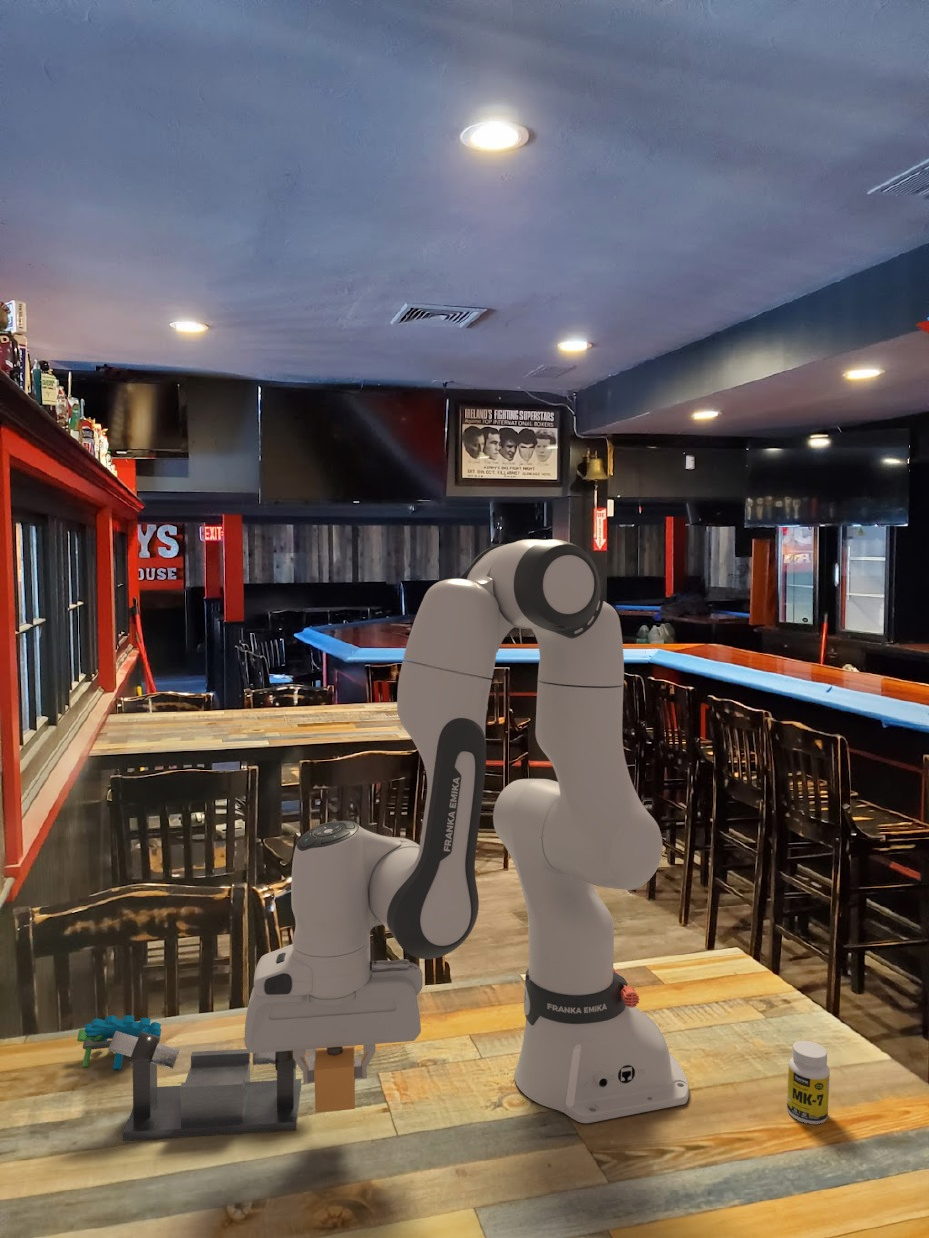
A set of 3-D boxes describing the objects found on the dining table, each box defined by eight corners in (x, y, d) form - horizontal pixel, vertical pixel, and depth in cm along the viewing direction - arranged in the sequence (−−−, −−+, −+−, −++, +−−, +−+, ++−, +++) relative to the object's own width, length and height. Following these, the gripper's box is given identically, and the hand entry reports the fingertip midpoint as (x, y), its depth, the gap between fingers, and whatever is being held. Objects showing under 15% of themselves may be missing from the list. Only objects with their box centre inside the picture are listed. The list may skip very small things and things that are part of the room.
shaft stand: (320, 1085, 116) (320, 1004, 115) (317, 1128, 107) (317, 1041, 106) (119, 1096, 113) (118, 1013, 112) (99, 1141, 104) (97, 1052, 103)
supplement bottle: (786, 1120, 110) (788, 1054, 109) (786, 1099, 114) (788, 1035, 113) (828, 1129, 108) (831, 1062, 107) (827, 1107, 112) (829, 1042, 112)
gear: (173, 1029, 126) (146, 1006, 119) (167, 1075, 122) (138, 1054, 115) (97, 1038, 127) (66, 1015, 119) (88, 1083, 123) (55, 1063, 115)
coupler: (318, 1076, 107) (317, 1029, 107) (355, 1073, 108) (353, 1027, 107) (315, 1112, 100) (313, 1063, 100) (354, 1108, 101) (353, 1059, 101)
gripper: (420, 946, 107) (422, 1056, 108) (247, 957, 105) (251, 1069, 106) (423, 970, 101) (426, 1087, 102) (239, 983, 99) (244, 1102, 100)
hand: (335, 1078), depth 104 cm, fingers closed on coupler, 4 cm apart
